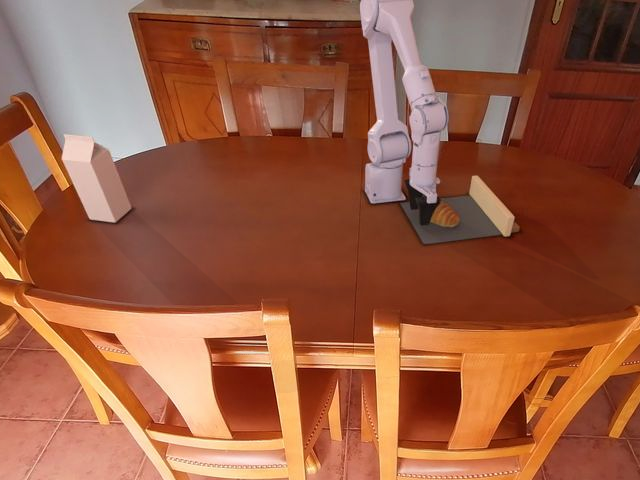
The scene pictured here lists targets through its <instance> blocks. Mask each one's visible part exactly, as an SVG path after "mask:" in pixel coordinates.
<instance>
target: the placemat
mask: <svg viewBox="0 0 640 480" xmlns="http://www.w3.org/2000/svg"><path fill="white" fill-rule="evenodd" d="M440 199H441V201H443V202H444V203H445V204H448V205H449V206H450V207H451V208H453V209H454V211H455V212H457V215H458V216H459V217H460V221H459V222H458V224H457V225H455V226H454V227H443V226H440V225H437V224H435V223H432V222H430V223H429V225H423V226H421V225H420V222H419V209H416V210H411V208H410V202H409V201H406V202H400V203H399V204H400V206H401V208H402V209H403V211H404V213H405V215H406V216H407V218H408V219H409V222H410V223H411V225H412V227H413V228H414V231H416V234H417V235H418V237H419V238H420V240H421V243H422V245H432V244H438V243H439V244H440V243H447V242H453V241H454V242H455V241H462V240H471V239H478V238H479V239H480V238H487V237H494V236H495V237H496V236H501V235H502V236H503V234H502V233H501V232H500V231H499V230H498V228H497V227H496V226H495V225H494V223H493V222H492V221H491V220H490V219H489V217H488V216H487V215H486V214H485V212H484V211H483V210H482V209H481V208H480V206H479V205H478V204H477V203H476V201H475V200H474V199H473V198H472V197H471V195H470V194H469V195H460V196H453V197H452V196H451V197H443V198H440Z"/></svg>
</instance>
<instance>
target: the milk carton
mask: <svg viewBox="0 0 640 480" xmlns="http://www.w3.org/2000/svg"><path fill="white" fill-rule="evenodd" d="M63 137H64V145H63V150H62V153H61V161H62V162H63V165H64V167H65V169H66V171H67V173H68V175H69V178H70V180H71V183H72V184H73V187H74V188H75V191H76V193H77V196H78V197H79V199H80V202H81V204H82V205H83V208H84V210H85V212H86V214H87V217H88V219H89V220H91V221H100V222H107V223H117V222H118V221H120V219H122V218H123V217H124V216H125V215H126V214H128V212H129V211H131V210H132V205H131V203H130V200H129V197H128V195H127V192H126V190H125V187H124V185H123V182H122V180H121V177H120V174H119V172H118V169H117V167H116V164H115V162H114V158H113V157H112V154H111V151H110V149H109V148H107V147H105V146H103V145H102V144H99V143H97V142H95V140H94V137H93V136H87V135H86V136H85V135H76V134H66V133H64V134H63Z"/></svg>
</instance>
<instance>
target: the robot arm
mask: <svg viewBox="0 0 640 480" xmlns="http://www.w3.org/2000/svg"><path fill="white" fill-rule="evenodd" d="M359 13H360V20H361V21H360V22H361V29H362V35H363V38H365V39H367V43H368V45H367V46H368V50H369V51H368V54H369V62H370V72H371V79H372V90H373V98H374V106H375V115H376V122H375V124H373V125H372V127H371V128H370V129H369V130H368V132H367V154H368V157H369V160H370V161H371V162H369V163H366V164H365V168H364V171H365V172H364V184H365V185H364V192H365V194H366V196H367V198H368V200H369V202H370V204H381V203H390V202H399V201H400V202H401V201H406V200H407V198H406V196H405V194H404V193H403V191H402V188H403V187H402V186H403V183H404V185H405V187H406V192H407V194H408V195H407V196H408V202H410V208H411V210H416V209H419V222H420V225H421V226H423V225H429V223H430V220H431V218H432V215H433V213H434V211H435V209H436V208H437V207H438V205H439V204H440V203H441V198H440V197H439V196H438V193H437V185H440V183H441V180H440V178H439V177H437V169H438V161H439V153H440V145H441V136H442V135H441V134H442V131H445V130H446V129H447V126H448V123H449V110H448V107H447V104H446V103H445V102H444V101H443V100H442V99H441V96H438V95H437V92H436V90H435V86H434V83H433V79H432V76H431V73H430V70H429V68H428V67H427V66H426V65H425V64H422V63H421V59H420V54H419V49H418V45H417V41H416V36H415V31H414V27H413V22H412V21H413V19H414V13H415V4H414V0H360V3H359ZM392 43H393V45H394V46H395V50H396V52H397V55H398V57H399V60H400V62H401V65H402V67H403V70H404V73H403V76H402V78H401V81H402V84H403V88H404V91H405V94H406V97H407V100H408V103H409V106H410V110H411V112H410V115H409V116H408V117H409V126H410V131H411V135H409V129H408V126H407V125H406V124H405V123H404V122H403V121H401V120H400V119H399V114H398V113H399V112H398V105H397V104H398V103H397V101H398V100H397V92H396V90H397V89H396V82H395V81H396V80H395V70H394V60H393V48H392ZM410 136H411V138H410ZM412 145H413V146H412ZM411 151H412V154H411ZM410 155H412V156H411V167H409V174H408V176H409V178H407V179H405V180H404V181H403V171H404V170H403V169H404V164H405V163H406V162H407V158H409V157H410Z"/></svg>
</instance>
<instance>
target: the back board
mask: <svg viewBox="0 0 640 480" xmlns="http://www.w3.org/2000/svg"><path fill="white" fill-rule="evenodd" d="M468 194H469V195H470V196H471V198H472V199H473V200H474V201H475V202H476V204H477V205H478V206H479V207H480V209H481V210H482V211H483V212H484V213H485V215H486V216H487V217H488V218H489V220H490V221H491V222H492V223H493V224H494V226H495V227H496V228H497V229H498V231H499V232H500V233H501V234H502V236H503V237H505V238H506V237H511V234H512V233H519V232H520V228H521V227H520V225H519V224H518V223H517V222H515V218H516V217H515V216H514V213H512V212H511V211H510V210H509V209H508V208H507V206H506V205H505V204H504V203H503V202H502V201H501V200H500V199H499V197H497V196H496V194H495V193H494V192H493V191H492V189H490V188H489V187H488V186H487V184H486V183H485V182H484V181H483V179H481V178H480V176H479V175H472V176H471V181H470V187H469V193H468Z"/></svg>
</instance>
